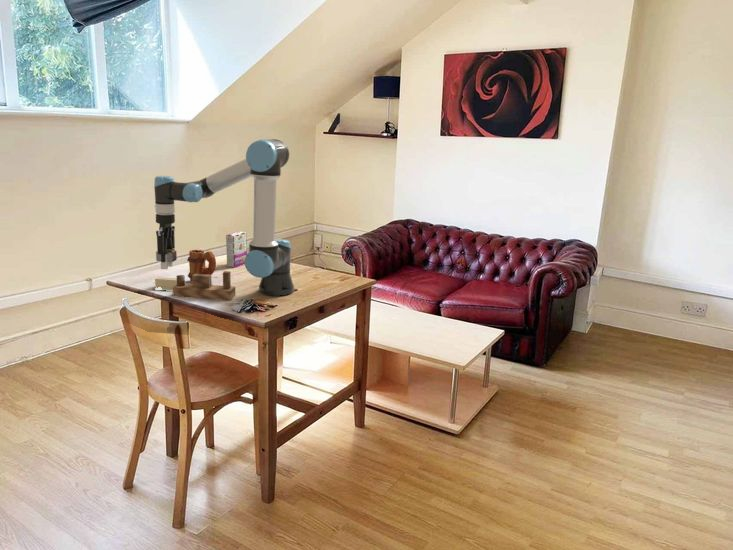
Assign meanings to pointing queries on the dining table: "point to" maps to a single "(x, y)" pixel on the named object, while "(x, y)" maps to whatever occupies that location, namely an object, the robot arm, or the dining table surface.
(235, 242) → the candy bar box
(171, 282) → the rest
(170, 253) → the lever cap
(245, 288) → the dining table surface
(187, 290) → the wooden peg board
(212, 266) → the mug
